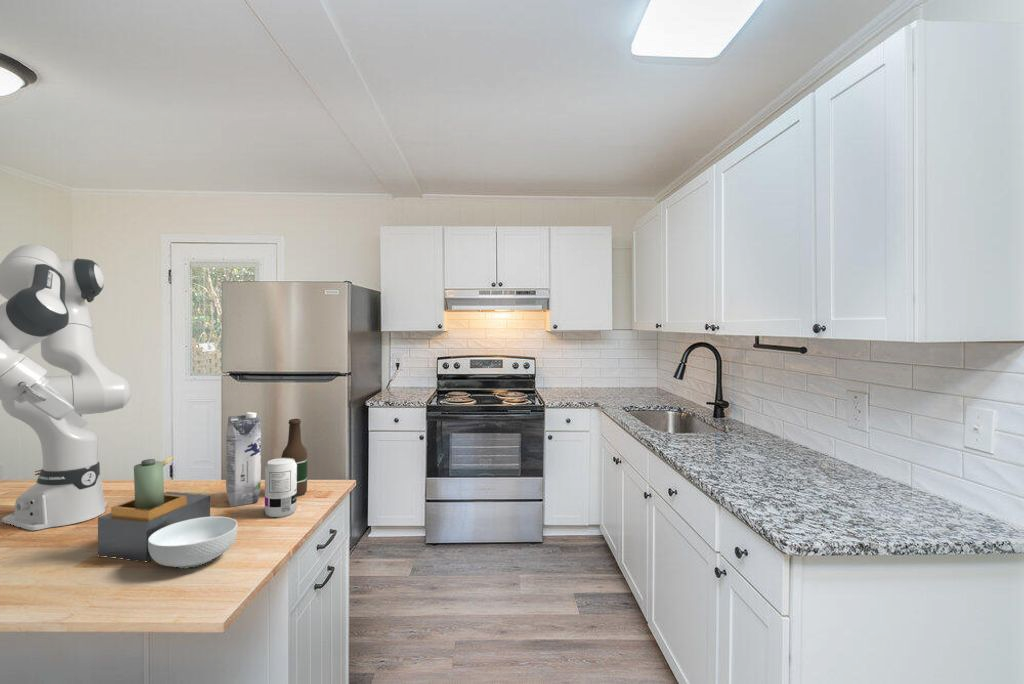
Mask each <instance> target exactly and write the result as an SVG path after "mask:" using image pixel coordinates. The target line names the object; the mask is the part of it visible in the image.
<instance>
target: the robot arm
mask: <svg viewBox="0 0 1024 684" xmlns="http://www.w3.org/2000/svg"><path fill="white" fill-rule="evenodd" d="M104 284H105V276H104V273H103V271H102V269H101V268H100V266H99V264H98V263H96V262H95V261H94V260H93V259H86V258H76V259H71V258H70V259H64V258H63V259H62V258H61V259H60V258H59V256H58V255H57V253H55V252H54V251H53V250H52V249H50V248H48V247H45V246H44V245H40V244H24V245H21V246H18V247H16V248H15V249H13V250H12V251H11V252H9V253H8V254H7V255H6V256H5V257H4V259H3V260H2V261H1V262H0V296H1V297H3V298H4V299H6V300H7V301H4V302H3V303H1V304H0V401H1V406H2V408H3V409H4V411H5V412H6V413H7V414H8V415H9V416H11V417H12V418H15V419H17V420H19V421H21V422H23V423H25V424H26V425H27V426H29V427H30V428H31V429H32V430H33V431H34V433H35V434H36V436H37V437H38V439H39V441H40V446H41V454H42V469H39V470H35V471H34V473H35V474H34V476H37V479H36V483H35V484H33V485H32V486H31V487H30V488H29V489H27V490H25V491H24V492H23V493H21V494H20V495H19V496H18V497H17V498H16V500H15V503H14V512H12V513H9V514H8V515H5V516H4V517H2V518H1V523H3V522H4V523H3V524H6V523H7V524H6V525H10V524H11V526H13V525H14V527H18V528H20V527H21V528H20V529H24V530H28V531H38V530H39V531H40V530H44V529H49V528H56V527H61V526H62V527H63V526H68V525H73V524H77V523H82V522H85V521H89V520H92V519H94V518H95V519H96V518H98V517H100V515H101V516H102V514H103V515H104V513H105V512H106V508H107V506H108V501H106V500H105V498H104V489H103V482H102V479H101V478H100V477H99V476H100V474H101V465H100V464H101V463H100V462H99V461H98V460H99V459H98V456H99V455H98V448H99V447H98V446H99V445H98V441H99V440H98V436H97V434H96V432H94V431H92V430H90V429H86V428H85V427H87V425H89V422H90V421H88V420H87V419H85V418H84V417H83V416H82V415H93V414H103V413H108V412H112V411H117V410H121V409H123V408H124V407H125V406H126V405H127V404H128V402H129V401H130V399H131V397H132V388H131V384H130V383H129V382H128V381H129V380H127V379H126V377H123V376H122V375H120V374H117V373H115V372H114V371H112V370H110V369H109V368H108V367H107V366H106V365H105V364H103V362H102V361H101V360H100V357H98V353H97V350H96V349H97V348H96V345H95V337H94V336H95V335H94V327H93V326H94V325H93V321H92V320H93V319H92V317H91V312H90V309H89V306H88V305H87V303H92V302H94V300H95V298H96V297H97V296H98V295H100V294H101V292H102V291H103V289H104V287H105V286H104ZM85 300H86V301H87V303H86V301H85ZM38 343H40V355H41V357H42V359H43V360H44V361H45V362H46V363H47V364H49V365H51V366H53V367H55V368H58V369H62V370H64V371H67V372H68V373H70V374H71V375H54V376H53V375H52V376H45V375H46V374H47V373H48V369H46V368H44V367H43V366H41V365H39V363H37V362H35V361H34V360H33V359H31V358H29V357H28V356H26V355H25V354H23V353H25V352H26V351H27V350H29V349H31V348H32V347H34V346H35V345H37V344H38ZM72 424H73V425H72Z"/></svg>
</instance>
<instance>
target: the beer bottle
mask: <svg viewBox="0 0 1024 684" xmlns="http://www.w3.org/2000/svg"><path fill="white" fill-rule="evenodd" d="M301 423H302V420H301V418H292V419H289V420H288V426H289V427H288V438H287V444H286V447H284V449H283V451H282V453H281V457H280V458H292V459H294V460H295V462H296V464H297V497H301V496H305V494H306V493H307V491H308V451H307V449H306V447H305V445H304V444H303V443H302V434H301V432H302V431H301V430H302V429H301Z"/></svg>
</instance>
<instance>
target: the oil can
mask: <svg viewBox="0 0 1024 684" xmlns="http://www.w3.org/2000/svg"><path fill="white" fill-rule="evenodd" d="M172 460H173V456H168V457H166V458H165V459H164V460H162V461H159V460H156V459H155V458H149V459H142V461H141V463H138V464H135V465H134V466H133V484H134V499H135V508H138V509H152V508H154V507H157V506H159V505H162V504H164V493H165V490H164V489H165V487H164V486H165V485H164V483H165V482H164V467H165V466H166V465H167V464H168V463H170V462H171V461H172Z"/></svg>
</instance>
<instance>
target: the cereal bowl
mask: <svg viewBox="0 0 1024 684" xmlns="http://www.w3.org/2000/svg"><path fill="white" fill-rule="evenodd" d="M238 524H239V523H238V521H237V520H236V519H234V518H231V517H228V516H227V517H226V516H210V517H201V518H195V519H190V520H185V521H181V522H177V523H174V524H171V525H169V526H166V527H164V528H162V529H159V530H158V531H156V532H154V533H153V534H152V535H151V536H150V537H149V538H148V550H149V553H150V556H151V557H152V560H153V561H154V562H155V563H156V564H159V565H161V566H165V567H171V568H172V567H174V568H176V567H179V568H178V569H183V568H184V569H189V568H188V567H193V568H195V567H194V566H197V567H199V566H198V565H201V566H203V565H202V564H204V563H206V564H208V563H210V562H212V561H213V560H214V559H215V558H217V557H219V556H220V555H223V554H224V553H225V552H226V551H228V550H229V549H230V548H231V547H232V546H233V545H234V542H235V541H236V538H237V535H238V534H237V533H238V528H239V527H238ZM212 559H213V560H212ZM209 561H210V562H209ZM207 562H208V563H207ZM204 565H205V564H204ZM186 567H187V568H186Z"/></svg>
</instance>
